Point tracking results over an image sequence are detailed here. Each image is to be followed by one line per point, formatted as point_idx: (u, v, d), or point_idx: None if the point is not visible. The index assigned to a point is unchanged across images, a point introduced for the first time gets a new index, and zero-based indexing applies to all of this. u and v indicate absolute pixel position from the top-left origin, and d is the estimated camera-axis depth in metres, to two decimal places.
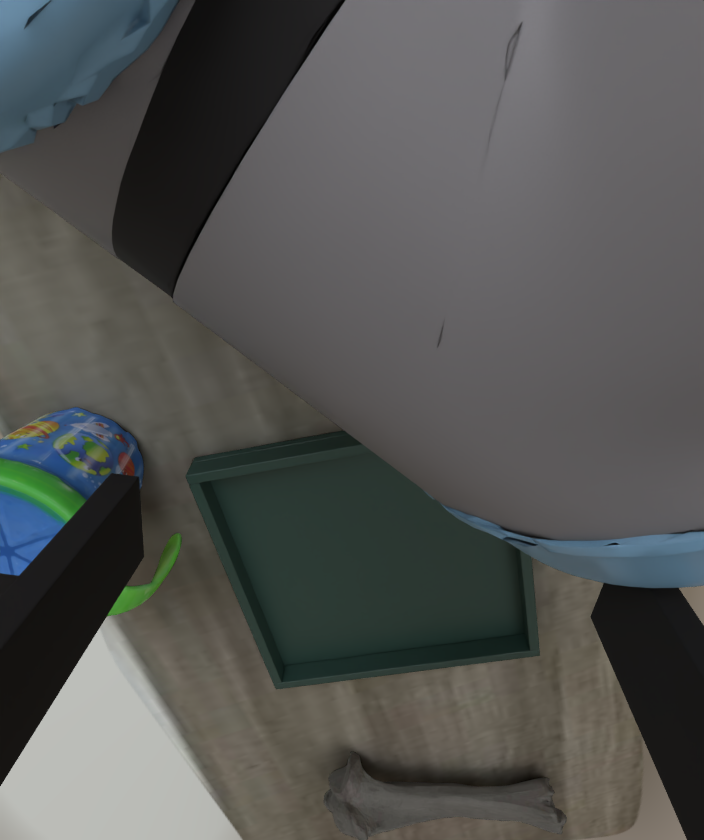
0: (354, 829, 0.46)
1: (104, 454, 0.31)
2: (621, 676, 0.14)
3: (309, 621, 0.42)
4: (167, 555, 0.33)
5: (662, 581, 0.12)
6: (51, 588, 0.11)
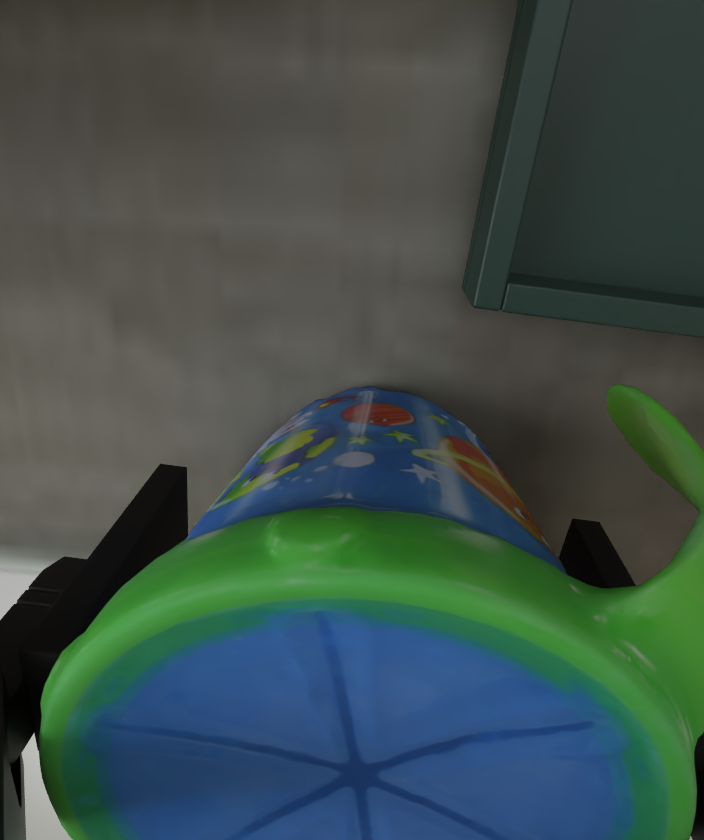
0: None
1: (307, 433, 0.13)
2: None
3: None
4: (646, 434, 0.11)
5: None
6: (120, 569, 0.12)
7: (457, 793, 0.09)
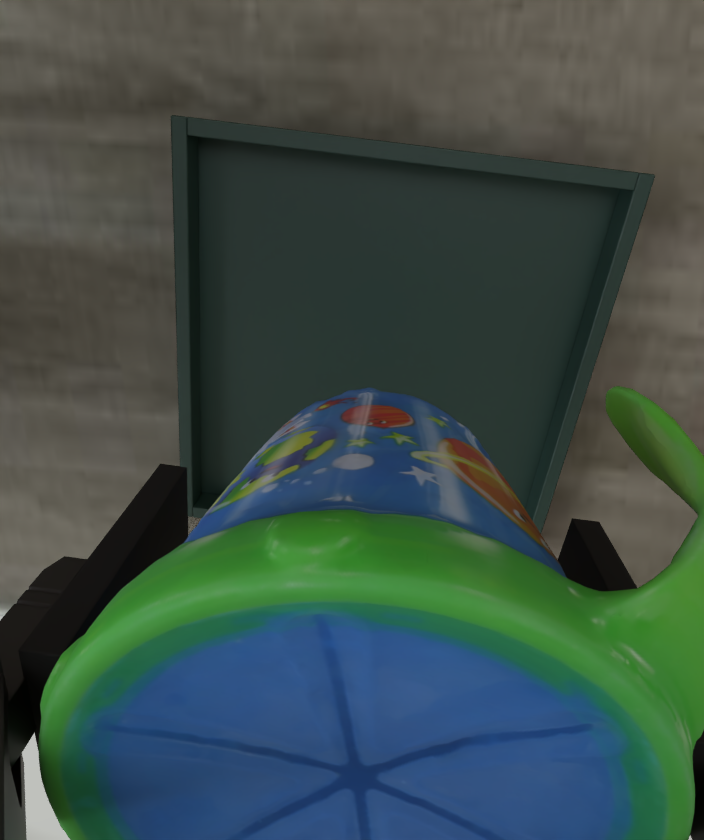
0: None
1: (306, 435, 0.13)
2: None
3: None
4: (645, 436, 0.11)
5: None
6: (120, 569, 0.12)
7: (455, 795, 0.10)
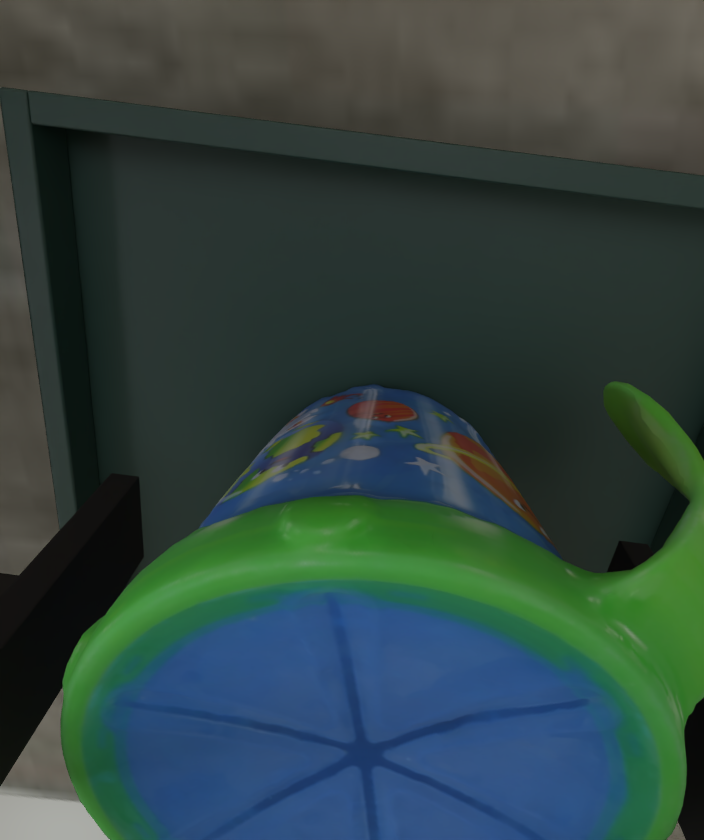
0: None
1: (313, 429, 0.13)
2: None
3: None
4: (641, 429, 0.11)
5: None
6: (51, 588, 0.11)
7: (458, 772, 0.10)
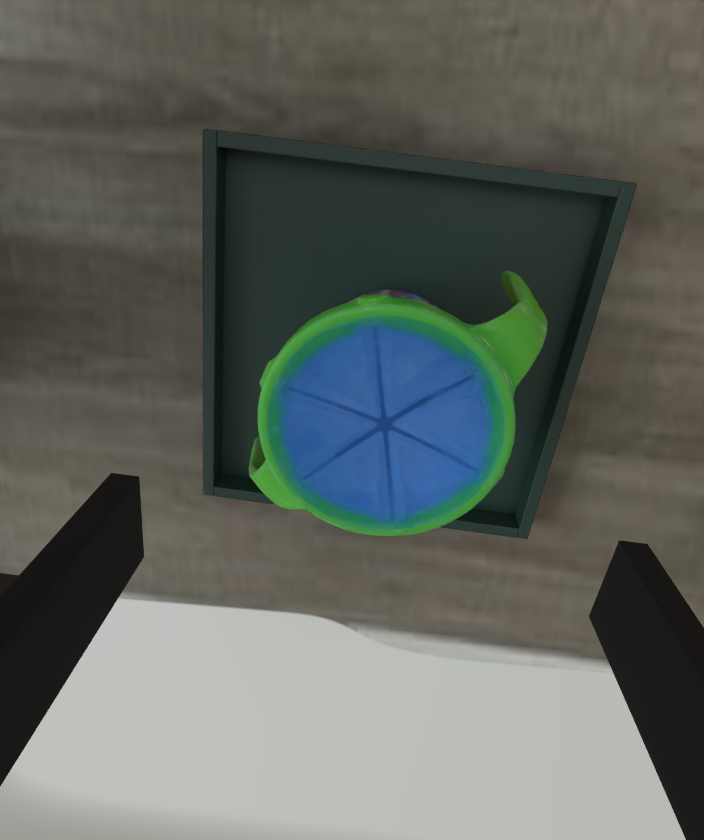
0: None
1: None
2: (619, 676, 0.14)
3: None
4: (511, 287, 0.24)
5: None
6: (51, 588, 0.11)
7: (425, 429, 0.23)
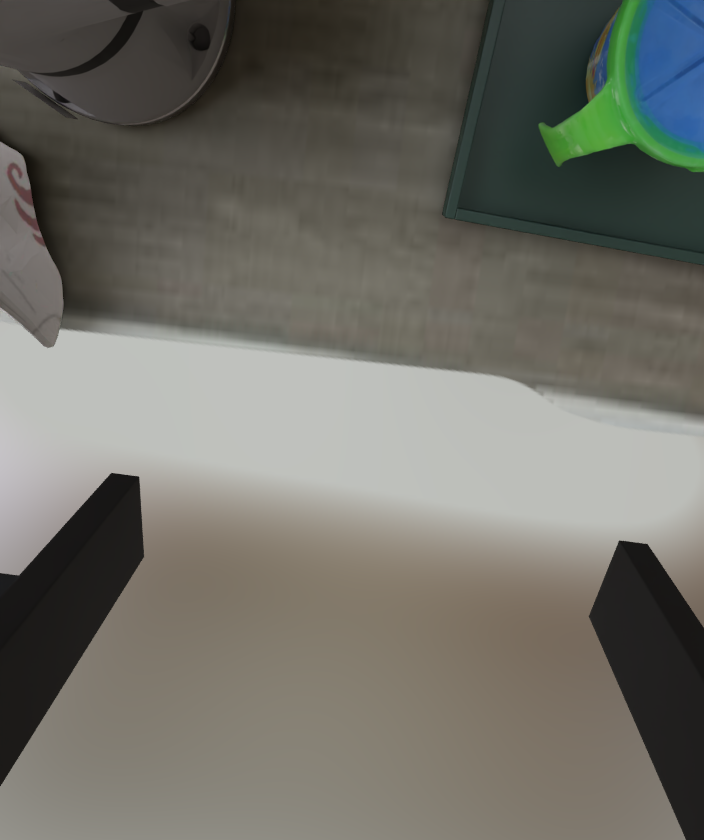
0: None
1: None
2: (620, 676, 0.14)
3: (683, 195, 0.37)
4: None
5: None
6: (51, 588, 0.11)
7: None
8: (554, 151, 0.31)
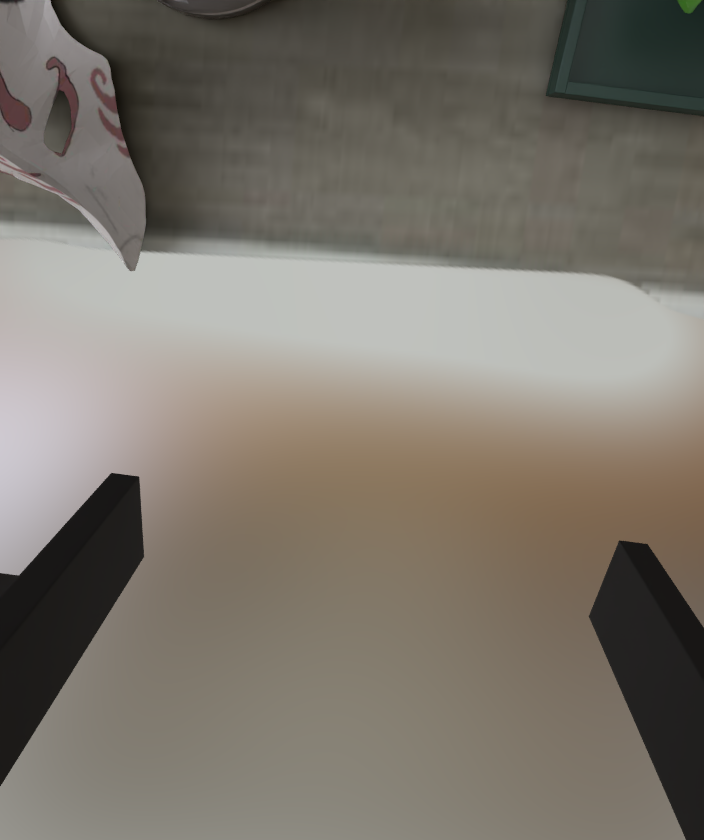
0: None
1: None
2: (619, 676, 0.14)
3: None
4: None
5: None
6: (51, 588, 0.11)
7: None
8: None
